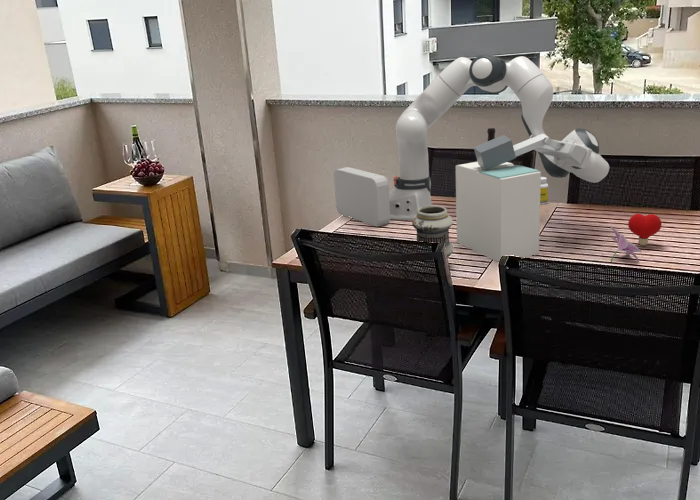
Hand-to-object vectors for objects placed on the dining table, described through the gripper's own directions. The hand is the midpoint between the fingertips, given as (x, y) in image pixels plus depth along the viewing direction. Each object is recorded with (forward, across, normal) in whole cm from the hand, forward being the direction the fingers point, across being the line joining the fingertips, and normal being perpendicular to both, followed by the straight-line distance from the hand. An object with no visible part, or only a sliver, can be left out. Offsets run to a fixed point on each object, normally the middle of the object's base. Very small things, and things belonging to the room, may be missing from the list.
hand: (538, 138), depth 201 cm
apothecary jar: (+16, -1, +48) cm, 50 cm away
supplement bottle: (-45, -37, +14) cm, 60 cm away
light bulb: (-38, +20, +17) cm, 46 cm away
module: (+4, -2, +7) cm, 8 cm away
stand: (-6, -4, +35) cm, 36 cm away
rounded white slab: (+12, -60, +46) cm, 76 cm away
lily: (-26, +26, +24) cm, 44 cm away
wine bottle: (-29, -44, +22) cm, 57 cm away
